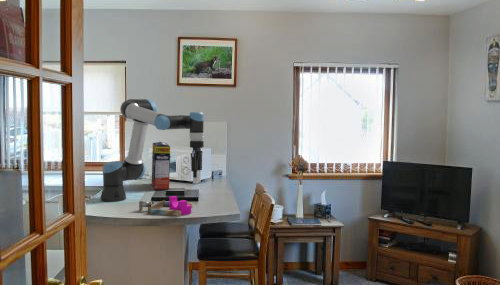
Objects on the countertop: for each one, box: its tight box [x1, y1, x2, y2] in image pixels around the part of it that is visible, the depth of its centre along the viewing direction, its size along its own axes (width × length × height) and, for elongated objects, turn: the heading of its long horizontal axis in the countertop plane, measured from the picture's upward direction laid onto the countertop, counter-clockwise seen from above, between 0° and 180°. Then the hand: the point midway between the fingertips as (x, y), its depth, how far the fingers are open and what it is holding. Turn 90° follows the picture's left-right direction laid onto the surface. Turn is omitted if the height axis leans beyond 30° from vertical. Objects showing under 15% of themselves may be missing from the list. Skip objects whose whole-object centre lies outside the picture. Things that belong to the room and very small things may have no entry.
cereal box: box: [151, 141, 171, 191], centre depth 301 cm, size 27×11×32 cm, turn 17°
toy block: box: [168, 195, 192, 216], centre depth 232 cm, size 15×6×8 cm, turn 35°
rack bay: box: [147, 200, 194, 217], centre depth 234 cm, size 18×20×3 cm
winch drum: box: [138, 200, 155, 212], centre depth 234 cm, size 7×5×5 cm, turn 79°
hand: (196, 182), depth 230 cm, fingers open, 4 cm apart
